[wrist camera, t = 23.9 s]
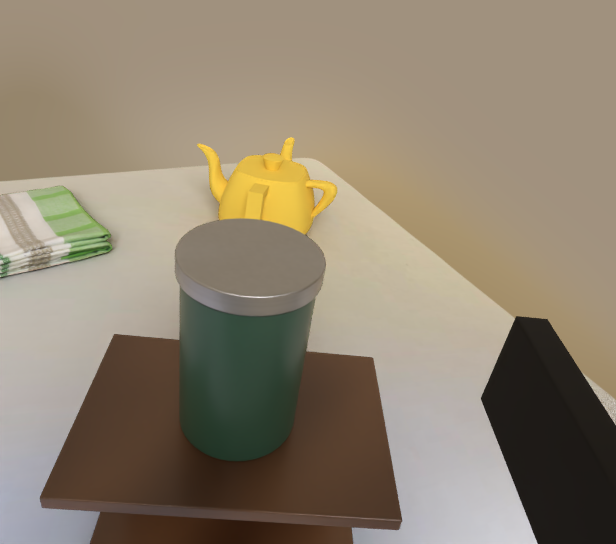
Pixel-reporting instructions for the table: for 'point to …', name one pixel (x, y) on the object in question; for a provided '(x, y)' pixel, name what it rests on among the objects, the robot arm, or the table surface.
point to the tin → (243, 333)
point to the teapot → (268, 189)
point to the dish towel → (46, 231)
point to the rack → (221, 473)
